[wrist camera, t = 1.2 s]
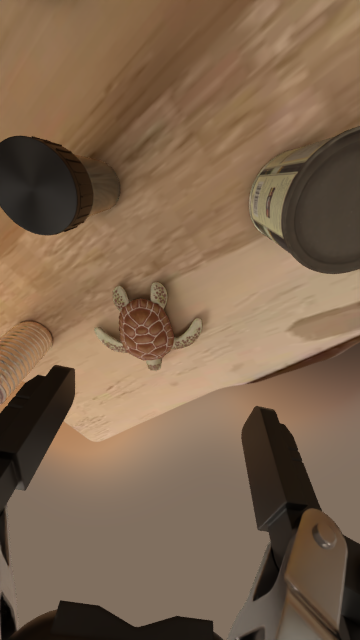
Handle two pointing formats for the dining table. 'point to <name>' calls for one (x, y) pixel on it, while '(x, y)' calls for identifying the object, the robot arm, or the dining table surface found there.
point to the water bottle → (21, 354)
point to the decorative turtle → (146, 327)
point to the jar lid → (43, 185)
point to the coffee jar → (101, 184)
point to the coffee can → (313, 203)
